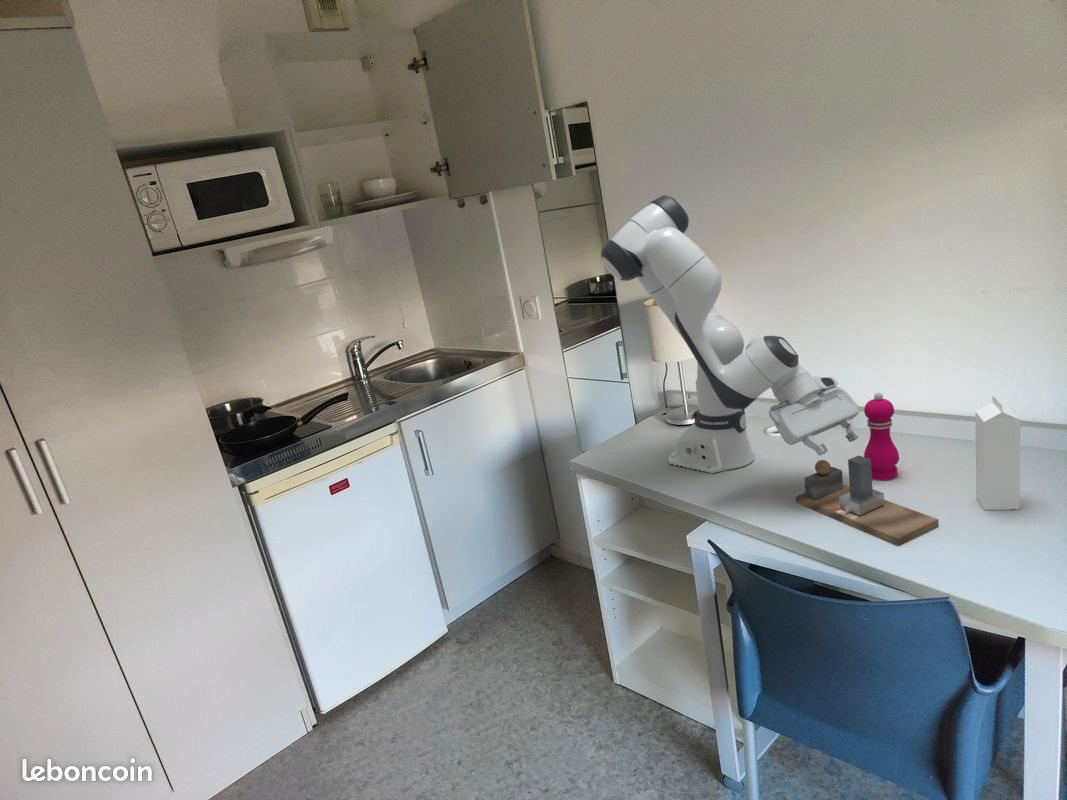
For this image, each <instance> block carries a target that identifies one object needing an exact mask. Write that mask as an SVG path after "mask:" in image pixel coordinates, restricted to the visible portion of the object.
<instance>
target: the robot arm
mask: <svg viewBox="0 0 1067 800" xmlns="http://www.w3.org/2000/svg"><path fill="white" fill-rule="evenodd" d="M689 220H690V218H689V215H688V214H687V211H686V210H685V208H684V207H683V205H682V204H681V203H680V202H679V201H678V200H676V199H675V198H674V197H672V196H670V195H669V196H668V195H666V194H665V195H661V196H659V197H657V198H655V199H653V200H652V201H651V202H650V203H649V205H647V206H646V207H644V208H642V209H641V210H639V211H638V212H637V213H636V214H635V215H633V216H632V217H631V218H630V219H628V222H627V223H625V224H624V225H623V226H622V227H621V228H620V229H619V230H618V231H617V233H616V234H615V235H614V236H613V237H612V238H611V239H608V240H607V242H606V243H605V244H604V246H603V247H602V249H601V250H600V258H601V260H602V262H603V266H604V267H605V269H606V270H607V272H608V273H609V274H610V275H612V277H615V278H617V279H618V280H620V281H621V282H622V281H625V282H627V281H632V280H634V279H636V278H637V279H638V281H639V283H640V285H642V288H644V290H645V291H646V292H647V294H648V295H649V297H650V298H651V299H652V300H653V301H654V302H655V304H656V305H657V306H658V307H659V308H660V310H661V312H663V314H664V316H666V318H667V319H668V320H669V322H670V323H671V325H672V326H673V327H674V329H675V330H676V331H677V333H678V334H679V335H680V337H681V339H683V341H684V343H685V344H686V345H687V347H688V348H689V350H690V352H691V353H692V355H693V356H694V358H695V360H696V362H697V367H696V368H697V370H696V371H697V372H696V373H697V375H696V380H695V389H696V398H697V404H698V405H697V406H698V407H697V409H696V410H695V411H694V412H693V413H692V414H691V415H690V421H693V420H694V423H693V424H691V425H690V426H689V427H688V428H687V429H686V430H685V431H683V432H682V433H681V434H680V435H679V437H678V438H677V439H676V444H675V450H674V451H672V453H670V455H669V457H668V464H669V465H671V464H673V465H672V466H676V465H678V466H677V467H680V466H683V467H682V468H685V467H687V468H686V469H690V468H692V469H691V470H694V469H697V470H696V471H699V470H701V472H703V471H705V473H708V472H709V474H716V472H717V473H719V472H723V471H728V470H734V469H738V468H739V469H740V468H742V467H744V466H748V465H749V464H751V463H752V462H753V461H754V460H755V454H754V452H753V450H752V447H751V443H750V441H749V437H748V433H747V417H746V409H747V408H748V407H749V406H750V405H751V404H752V403H754V402H755V401H756V400H757V399H758V397H760V396H761V395H763V394H764V393H765V392H766V391H767V390H769V389H771V392H772V393H773V396H774V397H775V399H776V400H777V402H778V404H775V405H772V406H771V407H770V409H769V412H768V415H769V417H770V419H771V420H772V422H773V423H774V426H775V428H776V429H777V432H778V433H779V435H780V436H781V439H782V440H783V441H784V442H785V443H786V444H788V445H790V446H794V445H796V444H798V443H800V442H802V443H803V445H804V446H806V447H808V448H810V449H812V450H813V451H815V453H816V454H817V455H818V457H819V456H822V455H825V454H826V453H828V451H829V449H828V447H826V445H825V444H824V443H819V442H818V441H816V440H815V436H816V435H818V434H822V433H824V432H826V431H829V430H831V429H833V428H836V427H838V426H841V427H842V429H845V432H846V434H845V436H844V437H845V438H846V439H847V440H848V442H850V443H852V442H853V441H856V440H857V439H858V438H859V434H858V433H857V432H856V430H855V425H854V421H853V420H854V418H855V417H857V416H858V415H859V414H860V408H859V406H858V404H857V403H856V402H855V399H853V397H852V396H850V394H849V393H848V392H847V391H846V390H845V389H844V388H843V387H840V386H838V384H839V382H838V380H837V379H836V378H835V377H834V376H812V375H811V374H810V372H808V371H807V370H806V369H804V368H803V367H802V366H801V364H800V362H799V354H798V353H797V351H795V349H794V348H793V347H792V345H791V344H790V343H789V342H788V341H787V339H786V338H785V337H783V336H778V335H776V334H774V333H772V332H763V333H759V334H758V335H756V336H755V337H753V338H752V339H751V340H750V341H749V342H748V343H747V345H746V346H745V341H744V337H743V335H742V333H741V331H740V329H739V328H738V326H737V325H736V324H734V323H733V322H730V321H729V320H727V319H725V318H724V317H723V316H722V315H721V314H720V313H719V312H718V311H717V310H716V308H715V306H714V305H715V304H716V302H717V300H718V298H719V296H720V293H721V290H722V283H723V282H722V281H723V280H722V275H721V273H720V271H719V269H718V268H717V266H716V264H715V263H714V262H713V261H712V259H710V257H709V256H708V255H707V254H706V253H705V252H704V251H703V250H702V249H701V248H700V246H698V244H697V243H695V242H694V241H693V240H692V239H691V238H689V237H688V236H687V235H686V234H685V233H686V231H687V230H688V228H689V224H690V223H689V222H690V221H689ZM744 348H745V349H744Z"/></svg>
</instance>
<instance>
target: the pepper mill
mask: <svg viewBox="0 0 1067 800" xmlns="http://www.w3.org/2000/svg"><path fill="white" fill-rule="evenodd" d="M883 396H884V395H883V394H882V393H881V392H875V393H874V395H873V399H870V400H868V401H867V402H866V403H865V406H864V411H863V413H864V416H865V417H866V418H867V421H866V422H867V427H868V428H869V431H870V433H869V434H870V435H869V439H868V443H867V444H866V447H865V449H864V453H863V457H865V458H869V459H871V470H872V480H875V481H890V480H893V479H896V478H897V476H898V466H896V465H897V464H898V463H899V461H900V455H899V452H898V451H899V450H898V449H897V447H896V445H895V443H894V442H893V440H892V437H891V427H892V426H893V423H892V422H893V419H892V417H893V416H894V414H895V407H894V405H893V403H892V402H891V401H890V400H888V399H885V398H884V397H883Z"/></svg>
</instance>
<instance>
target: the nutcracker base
mask: <svg viewBox="0 0 1067 800" xmlns="http://www.w3.org/2000/svg"><path fill="white" fill-rule="evenodd" d="M814 470H815V471H816V472H815V473H812V474H810V475H807V476H805V477H804V479H803V480H804V490H805V491H804V492H803V493H801V494H798V495H795V503H796V502H797V503H796V504H798V503H799V504H798V505H801V506H803V507H806V508H808V509H811V510H813V511H816V512H818V513H820V514H822V515H824V516H828V517H829V518H832V519H834V520H837V521H839V522H841V523H844V524H846V525H848V526H851V527H853V528H855V529H857V530H860V531H863V532H865V533H867V534H870V535H872V536H873V537H876V538H879V539H881V540H883V541H886V542H888V543H890V544H893V545H895V546H898V547H899V546H901V545H903V544H904V543H907V542H909V541H911V540H913V539H915V538H917V537H919V536H921V535H923V534H926V533H927V532H930V531H931V530H934V529H936V528H938V527H939V518H936V517H934V516H930V515H928V514H925V513H923V512H920V511H917V510H913V509H912V508H909V507H906V506H903V505H900V504H897V503H896V502H895V503H894V502H891V501H889V500H886V499H884V503H885V504H884V505H882V506H879V507H877V508H875V509H873V510H871V511H868V512H866V513H864V514H862V515H857V514H855V513H853V512H850V513H845V509H843V508H840V500H839V497H840V496H842V495H844V494H847V493H849V492H850V486H847V485H845V484H844V478H843V470H842V469H841V468H837V467H833V466H831V464H830V462H829V461H827V460H825V459H819V460H818V461H816V463H815V464H814Z"/></svg>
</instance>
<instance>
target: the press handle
mask: <svg viewBox="0 0 1067 800" xmlns="http://www.w3.org/2000/svg"><path fill="white" fill-rule="evenodd" d="M847 463H848V464H847V465H848V467H847V468H848V480H849V481H848V482H849V487H850V492H849V493H847V494H844V495H842V496H840V497H839V500H840V508H843V509H845V513H850V512H853V513H855V514H857V515H862V514H864V513H866V512H868V511H871V510H873V509H875V508H877V507H879V506H882V505H884V504H885V503H884V500H885V492H881V491H879V490H876V489H873V479H872V470H871V459H869V458H865V457H864V456H862V455H856V456H854V457H851V458H849V459H848V460H847Z"/></svg>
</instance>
